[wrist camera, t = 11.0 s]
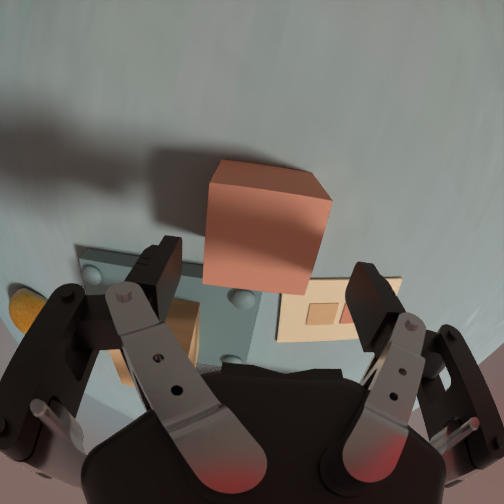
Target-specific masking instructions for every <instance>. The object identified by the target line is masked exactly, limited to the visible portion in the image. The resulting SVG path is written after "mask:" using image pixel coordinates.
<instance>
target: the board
mask: <svg viewBox="0 0 504 504" xmlns="http://www.w3.org/2000/svg"><path fill="white" fill-rule="evenodd" d="M138 258H140V256H134V255H127V254H121V253H114V252H108V251H102V250H96V249H90V248H87V249H86V250H85V252H84V253H83V254H82V255H81V256H80V257H79V262H80V267H81V271H82V275H83V279H84V283H85V287H86V291H87V295H101V294H105V293H106V291H107V289H108V288H109V287H110V286H112V285H113V284H116V283H118V282H124V280H125V279H126V277H127V275H128V274H129V272H130V271H131V269H132V268H133V266H134V265H135V264H136V261H137V260H138ZM261 295H262V291H255V290H247V289H238V288H230V287H222V286H214V285H207V284H203V265H195V264H188V263H182V272H181V278H180V282H179V284H178V287H177V290H176V292H175V295H174V298H173V299H179V300H185V301H192V302H199V303H200V323H199V352H198V357H197V363H200V364H207V365H214V366H222V362H228V363H237V364H246V360H247V356H248V351H249V347H250V343H251V339H252V335H253V330H254V326H255V322H256V317H257V313H258V309H259V304H260V300H261Z"/></svg>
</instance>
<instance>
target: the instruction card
mask: <svg viewBox="0 0 504 504" xmlns="http://www.w3.org/2000/svg"><path fill="white" fill-rule="evenodd" d="M385 279H386V280H387V281H388V282H389V284H390V285H391V287H392V290H394V292H395V294H396V295H397V293H398V290H399V287H400V285H401V282H402V277H395V278H385ZM349 280H350V278H337V279H310V280H309V283H308V286H307V289H306V292H305V295H304V296H303V295H293V294H283V293H282V299H281V308H280V318H279V327H278V336H277V342H310V341H331V340H347V339H359V337H358V334H357V331H356V328H355V325H354V323H353V320H352V317H351V314H350V312H349V309H348V306H347V304H346V301H345V291H346V287H347V285H348V282H349Z"/></svg>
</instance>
